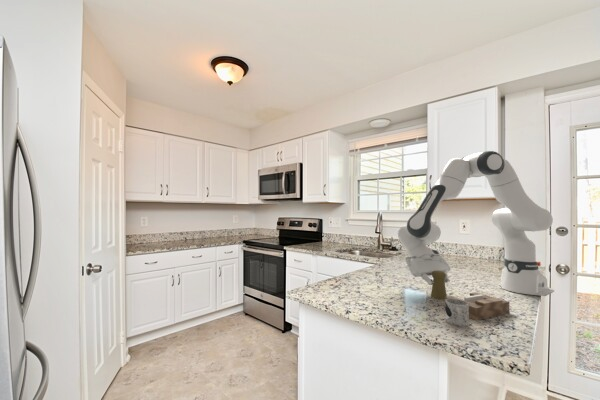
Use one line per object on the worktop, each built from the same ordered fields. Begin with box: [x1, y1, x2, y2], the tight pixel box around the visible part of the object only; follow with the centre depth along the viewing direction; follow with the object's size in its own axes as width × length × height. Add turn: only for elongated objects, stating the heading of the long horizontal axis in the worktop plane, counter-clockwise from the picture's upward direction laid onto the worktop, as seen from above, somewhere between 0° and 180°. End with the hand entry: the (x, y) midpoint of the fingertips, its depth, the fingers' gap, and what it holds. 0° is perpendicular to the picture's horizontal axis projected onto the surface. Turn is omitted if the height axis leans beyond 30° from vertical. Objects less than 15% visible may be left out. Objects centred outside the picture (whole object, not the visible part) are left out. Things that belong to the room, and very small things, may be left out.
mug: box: [444, 299, 470, 328], centre depth 86 cm, size 10×7×7 cm
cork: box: [430, 271, 448, 301], centre depth 114 cm, size 6×6×11 cm
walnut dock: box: [444, 291, 510, 321], centre depth 99 cm, size 18×12×5 cm, turn 113°
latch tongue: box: [463, 293, 485, 303], centre depth 100 cm, size 9×1×4 cm, turn 113°
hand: (439, 283), depth 113 cm, fingers open, 8 cm apart
